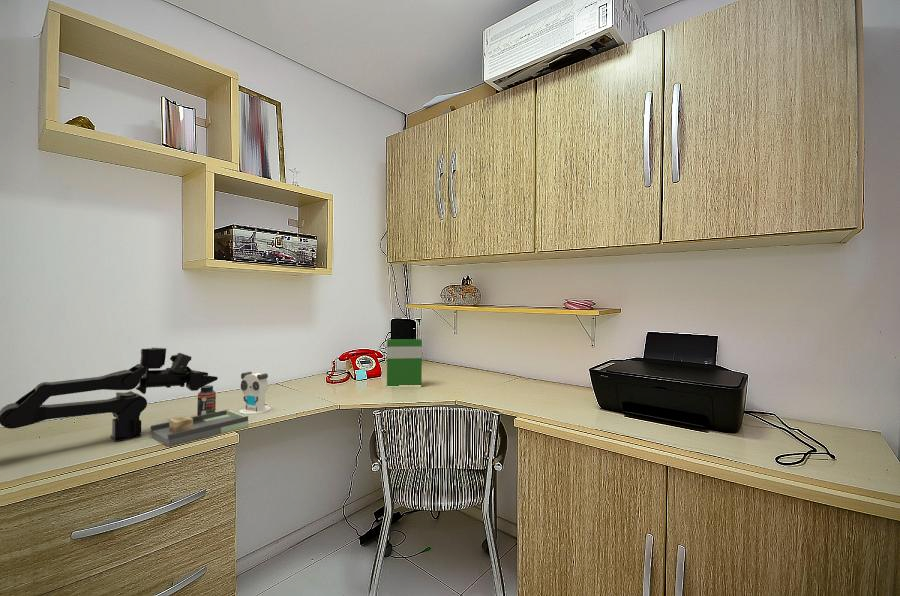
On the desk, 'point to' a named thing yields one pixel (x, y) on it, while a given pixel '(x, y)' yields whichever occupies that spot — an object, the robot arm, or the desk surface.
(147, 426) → the desk surface
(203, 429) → the shallow grey tray
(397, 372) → the hardback book
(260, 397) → the panda figurine
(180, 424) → the maple block
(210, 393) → the supplement bottle
